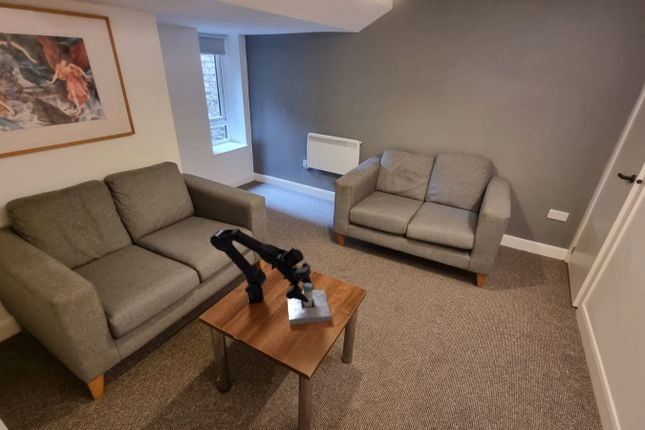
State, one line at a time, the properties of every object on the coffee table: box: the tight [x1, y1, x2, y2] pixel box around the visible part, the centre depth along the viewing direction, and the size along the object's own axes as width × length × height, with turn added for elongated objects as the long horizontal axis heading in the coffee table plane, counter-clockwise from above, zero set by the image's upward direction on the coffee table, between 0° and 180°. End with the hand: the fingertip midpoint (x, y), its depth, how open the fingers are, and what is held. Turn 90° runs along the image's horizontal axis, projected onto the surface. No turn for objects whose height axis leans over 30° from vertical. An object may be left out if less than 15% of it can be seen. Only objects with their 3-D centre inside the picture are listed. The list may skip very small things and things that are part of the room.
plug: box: [302, 282, 314, 309], centre depth 141 cm, size 5×5×13 cm
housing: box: [286, 289, 332, 326], centre depth 143 cm, size 18×18×3 cm
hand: (311, 295), depth 140 cm, fingers open, 9 cm apart
